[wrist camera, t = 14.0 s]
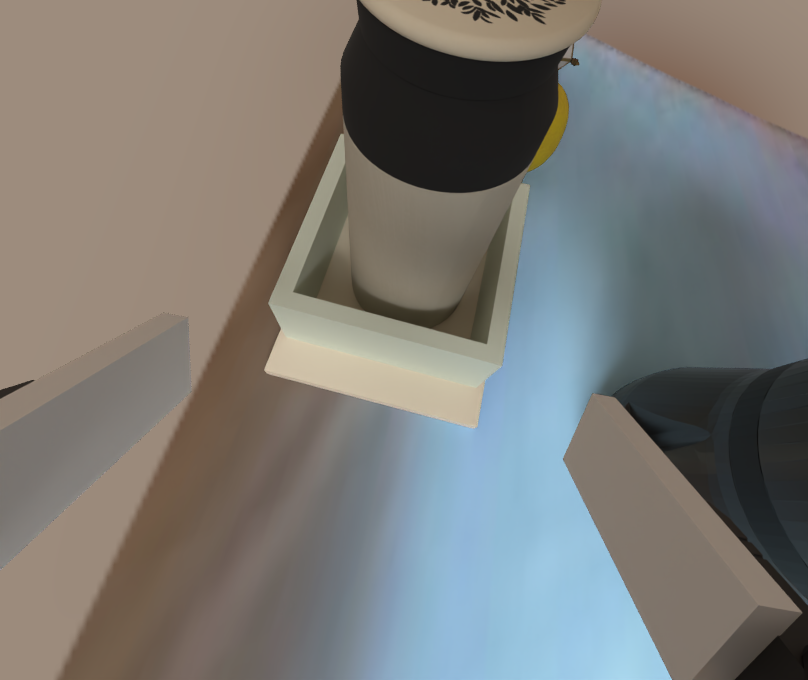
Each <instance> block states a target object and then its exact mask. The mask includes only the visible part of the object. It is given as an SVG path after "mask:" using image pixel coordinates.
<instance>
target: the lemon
mask: <svg viewBox="0 0 808 680" xmlns="http://www.w3.org/2000/svg"><path fill="white" fill-rule="evenodd" d="M558 97H559V100H558V108H557V112H556V115H555V118H554V120H553V122H552V124H551V126H550V128H549V130H548V132H547V134H546V136H545V138H544V140H543V142H542V144H541V145H540V147H539V149H538V151H537V153H536V155H535V157H534V159H533V161H532V163H531V165H530V167H529V169H528V171H527V172H529V171H532V170H533V169H535V168H537V167H539V166H540V165H542V164H543V163H544V162H545V161H546V160H547V159H548V158H549V157H550V156H551V155H552V154H553V152H554V151H555V149H556V148H557V146H558V144H559V142H560V140H561V138H562V136H563V133H564V131H565V128H566V124H567V120H568V113H569V103H568V99H567V96H566V93H565V91H564V89H563V88H562V86H561V85H560V84H559V83H558Z"/></svg>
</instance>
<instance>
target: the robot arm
mask: <svg viewBox="0 0 808 680" xmlns="http://www.w3.org/2000/svg"><path fill="white" fill-rule="evenodd" d="M189 349H190V348H189V326H188V317H184V316H178V315H173V314H168V313H162V314H160V315H158V316H156V317H154V318H153V319H151V320H149V321H147V322H145V323H143V324H141V325H139V326H138V327H135V328H134V329H132V330H130V331H128V332H126V333H124V334H122V335H120V336H119V337H117V338H115V339H113V340H111V341H109V342H108V343H105V344H103V345H101V346H100V347H98V348H96V349H94V350H92V351H90V352H88V353H86V354H84V355H82V356H81V357H79V358H77V359H75V360H73V361H71V362H69V363H67V364H65V365H64V366H62V367H60V368H58V369H56V370H54V371H52V372H50V373H48V374H46V375H45V376H43V377H41V378H39V379H37V380H31V381H28V382H25V383H21V384H18V385H15V386H12V387H9V388H5V389H2V390H0V570H1V569H2V568H3V567H4V566H5V565H6V564H7V563H8V562H10V561H11V560H12V559H13V558H14V557H15V556H16V555H17V554H18V553H19V552H20V551H21V550H22V549H23V548H25V547H26V546H27V545H28V544H29V543H30V542H31V541H32V540H33V539H34V538H35V537H36V536H37V535H38V534H39V533H40V532H42V531H43V530H44V529H45V528H46V527H47V526H48V525H49V524H50V523H51V522H52V521H53V520H54V519H56V518H57V517H58V516H59V515H60V514H61V513H62V512H63V511H64V510H65V509H66V508H67V507H68V506H70V505H71V504H72V503H73V502H74V501H75V500H76V499H77V498H78V497H79V496H80V495H81V494H82V493H83V492H84V491H85V490H87V489H88V488H89V487H90V486H91V485H92V484H93V483H94V482H95V481H96V480H97V479H98V478H100V477H101V476H102V475H103V474H104V473H105V472H106V471H107V470H108V469H109V468H110V467H111V466H112V465H113V464H115V463H116V462H117V461H118V460H119V459H120V458H121V457H122V456H123V455H124V454H125V453H126V452H127V451H128V450H130V449H131V448H132V447H133V446H134V445H135V444H136V443H137V442H138V441H139V440H140V439H141V438H142V437H143V436H144V435H146V434H147V433H148V432H149V431H150V430H151V429H152V428H153V427H154V426H155V425H156V424H157V423H158V422H159V421H161V419H163V418H164V417H165V416H166V415H167V414H168V413H169V412H170V411H171V410H172V409H173V408H174V407H176V406H177V404H179V403H180V402H181V401H182V400H183V399H184V398H185V397H186V396H187V395H188V394H189V393H191V370H190V350H189ZM563 460H564V462H565V464H566V466H567V468H568V470H569V472H570V474H571V477H572V479H573V481H574V483H575V485H576V487H577V489H578V491H579V493H580V495H581V497H582V499H583V501H584V503H585V505H586V507H587V509H588V511H589V513H590V515H591V517H592V519H593V521H594V523H595V525H596V527H597V529H598V531H599V533H600V535H601V537H602V539H603V541H604V543H605V545H606V547H607V549H608V551H609V553H610V555H611V557H612V559H613V561H614V563H615V565H616V567H617V569H618V571H619V573H620V575H621V577H622V579H623V581H624V583H625V585H626V587H627V589H628V591H629V593H630V596H631V598H632V600H633V602H634V604H635V606H636V608H637V610H638V612H639V614H640V616H641V618H642V620H643V622H644V624H645V626H646V628H647V630H648V632H649V634H650V636H651V638H652V640H653V642H654V644H655V646H656V648H657V650H658V652H659V654H660V656H661V658H662V660H663V662H664V664H665V666H666V668H667V670H668V672H669V674H670V676H671V678H672V680H808V359H805V360H801V361H798V362H794V363H791V364H787V365H783V366H780V367H776V368H773V369H753V368H700V367H686V368H676V369H670V370H665V371H661V372H658V373H655V374H652V375H650V376H647V377H644V378H642V379H639V380H636V381H634V382H632V383H630V384H628V385H626V386H625V387H623V388H622V389H620V390H619V391H617V392H616V393H615V394H614V395H613V396H612V397H610V396H604V395H599V394H594V393H592V396H591V398H590V400H589V402H588V404H587V407H586V409H585V411H584V413H583V416H582V418H581V420H580V422H579V424H578V427H577V429H576V431H575V433H574V435H573V438H572V440H571V442H570V444H569V447H568V449H567V451H566V453H565V455H564V458H563Z"/></svg>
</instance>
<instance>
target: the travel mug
mask: <svg viewBox="0 0 808 680" xmlns="http://www.w3.org/2000/svg"><path fill="white" fill-rule="evenodd" d="M601 1H602V0H357V7H358V15H359V20H358V23H357V25H356V27H355V29H354V31H353V33H352V35H351V37H350V39H349V41H348V44H347V46H346V48H345V50H344V52H343V56H342V59H341V89H342V108H343V127H344V146H345V164H346V183H347V202H348V221H349V239H350V258H351V277H352V287H353V291H354V294H355V297H356V299H357V301H358V303H359V304H360V306H361V307H362V308H363V310H364V311H365V312H369V313H372V314H376V315H380V316H384V317H387V318H391V319H395V320H398V321H402V322H406V323H410V324H413V325H417V326H421V327H424V328H432V327H434V326H436V325H438V324H440V323H442V322H443V321H445V320H446V319H447V318H448V317H449V316H450V315H451V314H452V313H453V312H454V311H455V309H456V308H457V306H458V305H459V303H460V301H461V299H462V297H463V295H464V293H465V291H466V289H467V287H468V285H469V283H470V281H471V279H472V277H473V275H474V274H475V272H476V270H477V268H478V266H479V264H480V262H481V260H482V258H483V256H484V254H485V252H486V250H487V248H488V246H489V244H490V242H491V241H492V239H493V237H494V235H495V233H496V231H497V229H498V227H499V225H500V223H501V221H502V219H503V217H504V215H505V213H506V211H507V209H508V208H509V206H510V204H511V202H512V200H513V198H514V196H515V194H516V192H517V190H518V188H519V186H520V184H521V182H522V180H523V178H524V176H525V175H526V173H527V171H528V169H529V167H530V165H531V163H532V161H533V159H534V157H535V155H536V153H537V151H538V149H539V147H540V145H541V144H542V142H543V140H544V138H545V136H546V134H547V132H548V130H549V128H550V126H551V124H552V122H553V120H554V118H555V115H556V112H557V108H558V100H559V97H558V65H559V63H560V62H561V60H562V58H563V57H564V55H565V53H566V52H567V50H568V48H569V47H570V46H571V45H572V44H574V43H575V42H576V41H578V40H579V39H580V38H581V37H582V36H583V35H585V34H586V33H587V32H588V30H589V29H590V28H591V26H592V25H593V23H594V21H595V20H596V18H597V15H598V13H599V10H600V7H601Z"/></svg>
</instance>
